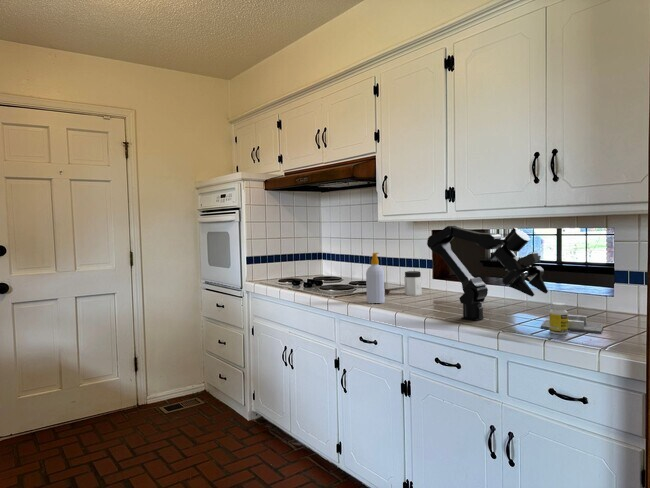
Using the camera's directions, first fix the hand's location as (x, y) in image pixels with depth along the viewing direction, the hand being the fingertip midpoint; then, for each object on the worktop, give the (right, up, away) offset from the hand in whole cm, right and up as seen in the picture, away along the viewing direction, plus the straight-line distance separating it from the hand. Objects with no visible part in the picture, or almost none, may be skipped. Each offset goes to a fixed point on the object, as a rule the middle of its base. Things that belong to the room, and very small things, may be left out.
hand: (540, 294), depth 159 cm
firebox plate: (+12, -12, +3) cm, 17 cm away
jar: (-27, -10, +87) cm, 91 cm away
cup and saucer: (-44, -10, +93) cm, 103 cm away
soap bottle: (-49, -11, +65) cm, 82 cm away
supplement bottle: (+4, -13, -4) cm, 14 cm away
